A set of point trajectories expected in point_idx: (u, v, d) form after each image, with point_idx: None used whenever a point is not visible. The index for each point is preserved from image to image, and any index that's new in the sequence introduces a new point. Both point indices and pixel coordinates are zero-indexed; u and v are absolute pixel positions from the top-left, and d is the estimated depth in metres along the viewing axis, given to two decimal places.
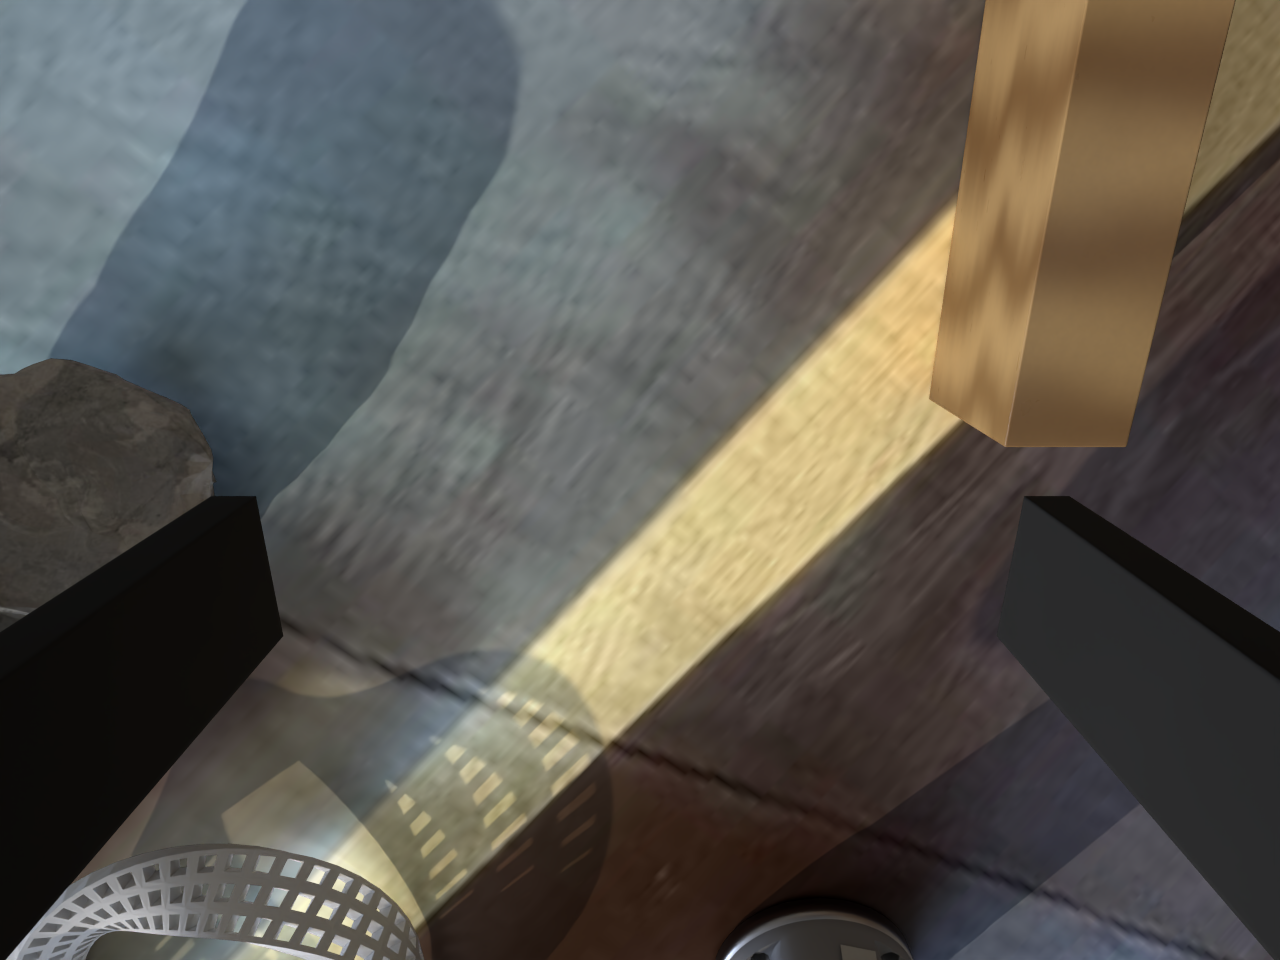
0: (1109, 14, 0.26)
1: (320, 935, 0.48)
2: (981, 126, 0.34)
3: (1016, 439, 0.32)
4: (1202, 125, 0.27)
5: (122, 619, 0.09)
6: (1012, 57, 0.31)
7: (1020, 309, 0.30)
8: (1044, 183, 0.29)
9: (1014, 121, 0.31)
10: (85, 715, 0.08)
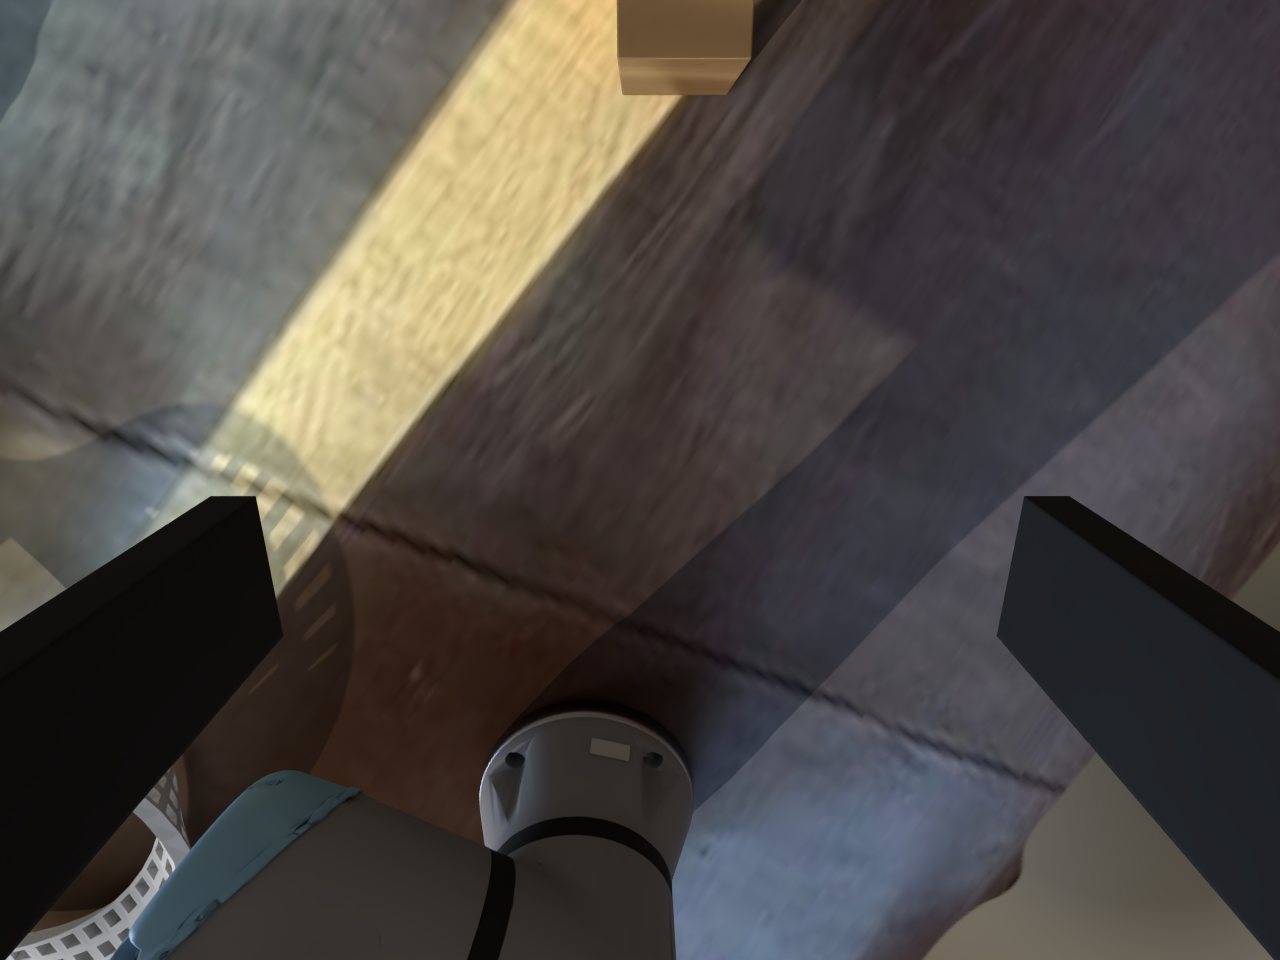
0: None
1: None
2: None
3: (628, 49, 0.29)
4: None
5: (122, 619, 0.09)
6: None
7: None
8: None
9: None
10: (85, 715, 0.08)
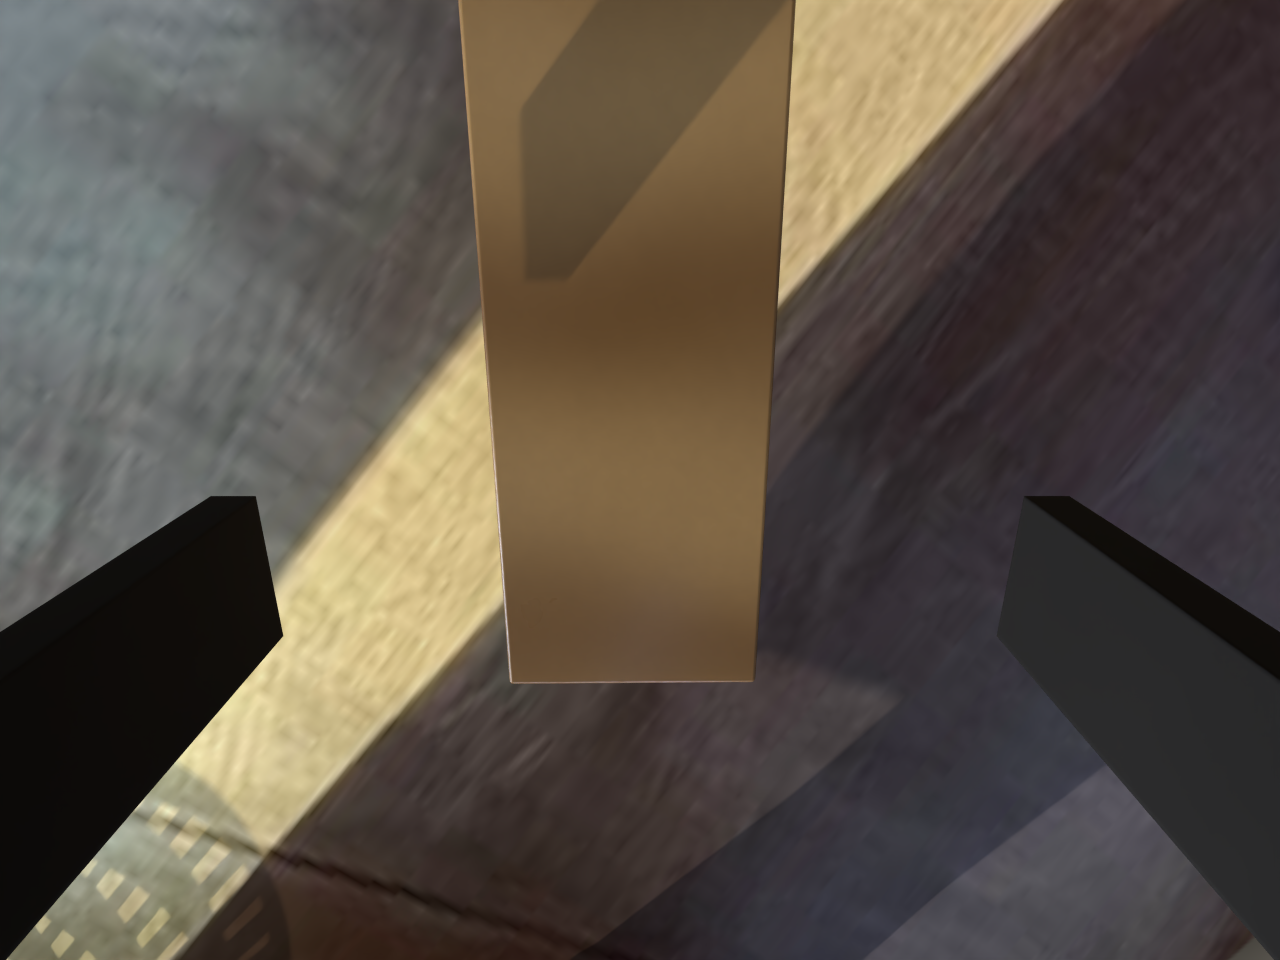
0: None
1: None
2: None
3: (529, 671, 0.16)
4: (788, 3, 0.12)
5: (122, 619, 0.09)
6: None
7: None
8: None
9: None
10: (85, 715, 0.08)
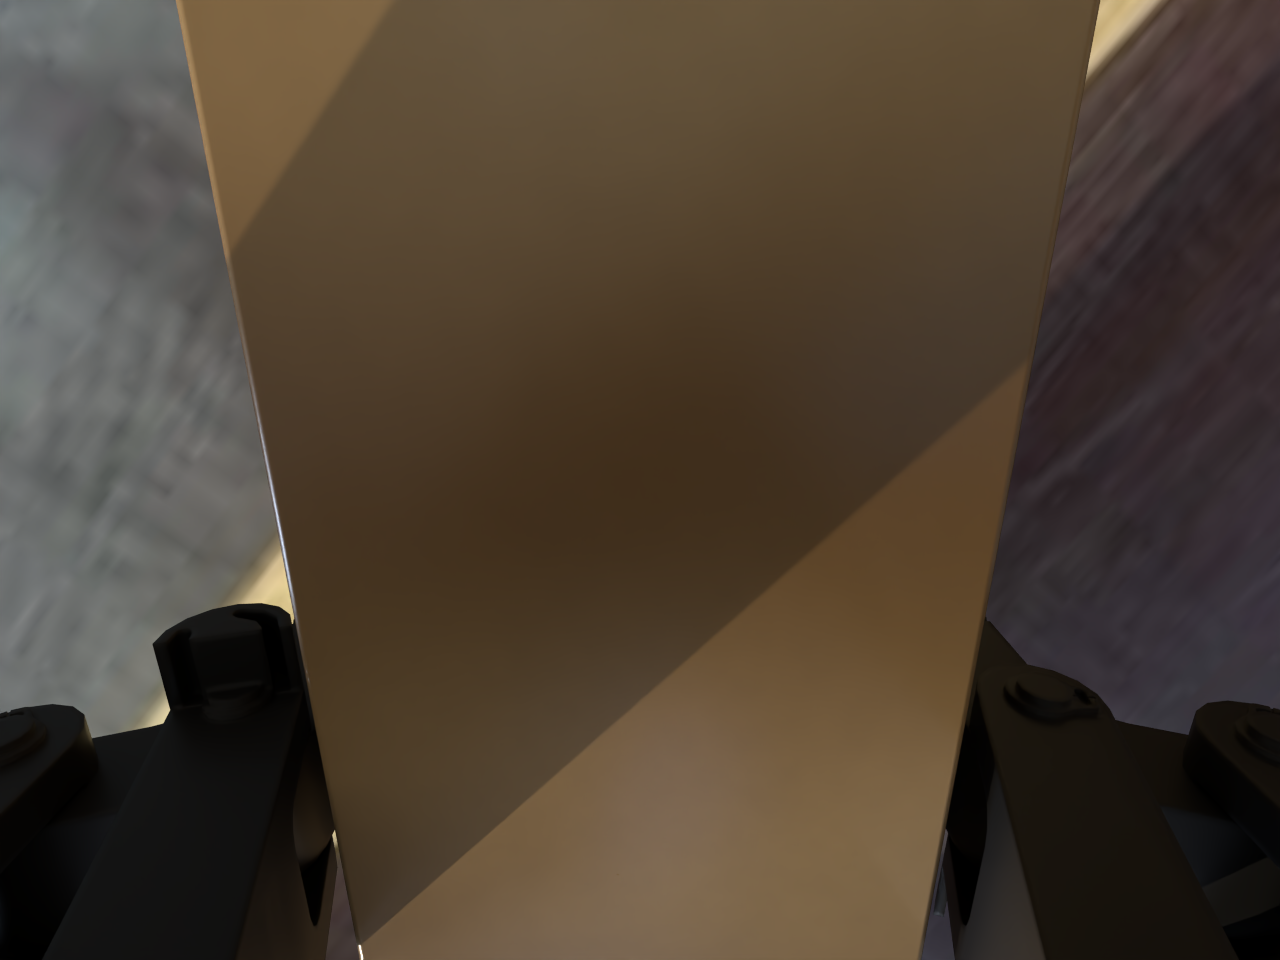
0: None
1: None
2: None
3: None
4: None
5: None
6: None
7: None
8: None
9: None
10: None
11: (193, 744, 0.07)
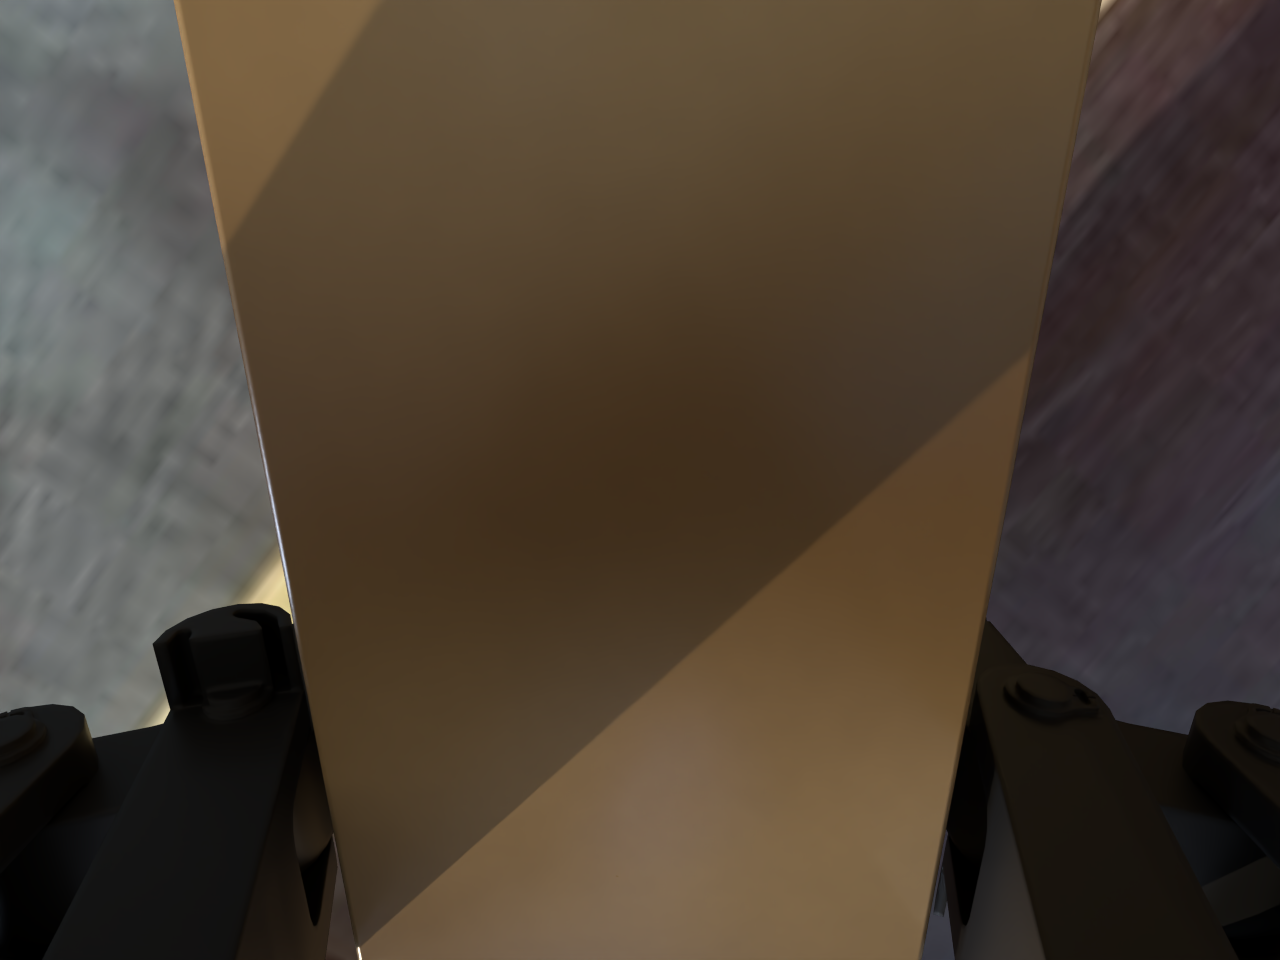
0: None
1: None
2: None
3: None
4: None
5: None
6: None
7: None
8: None
9: None
10: None
11: (193, 744, 0.07)
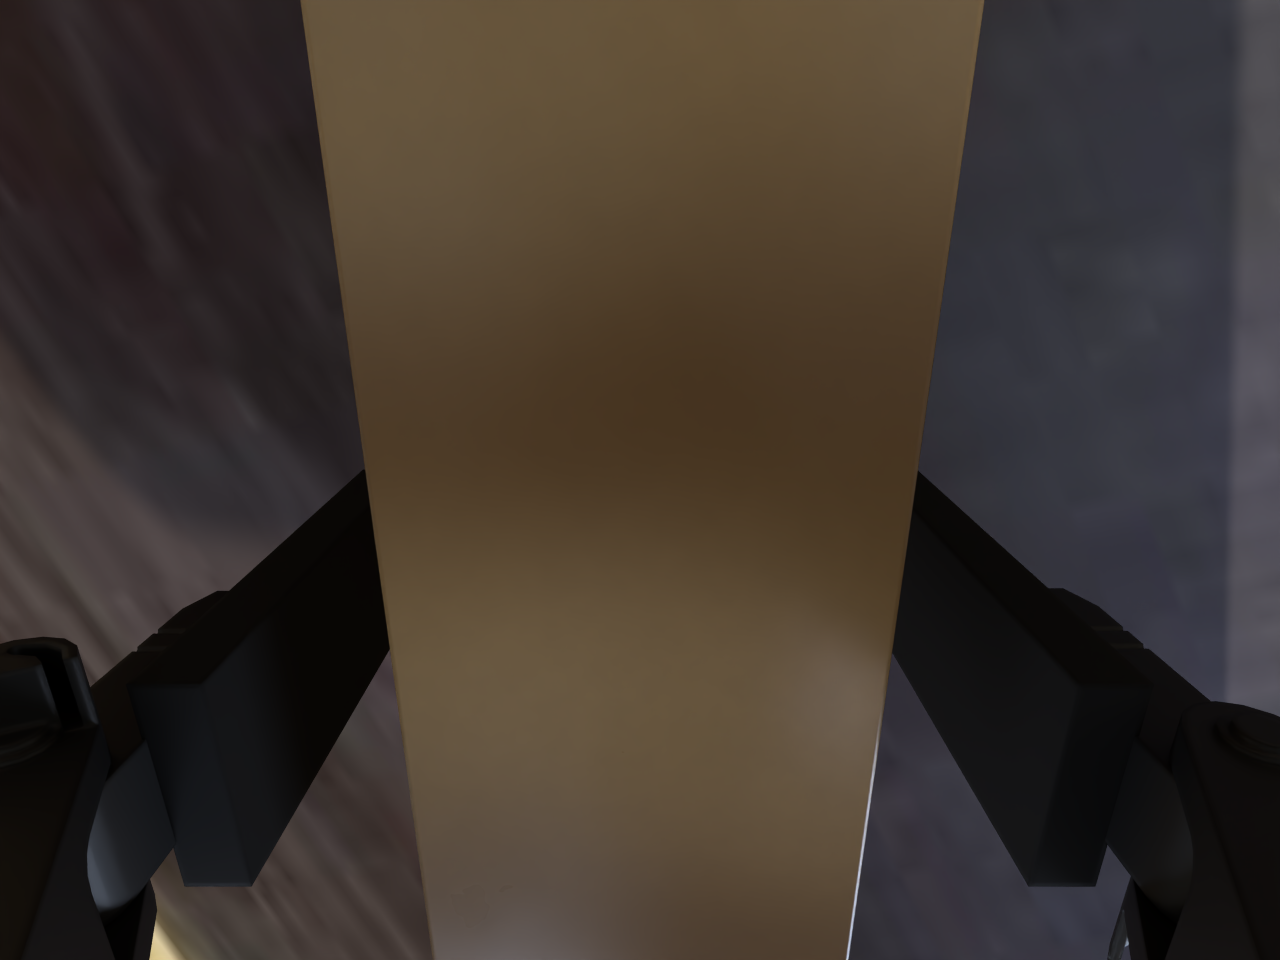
0: None
1: None
2: None
3: None
4: None
5: (331, 569, 0.10)
6: None
7: None
8: None
9: None
10: (312, 649, 0.10)
11: None
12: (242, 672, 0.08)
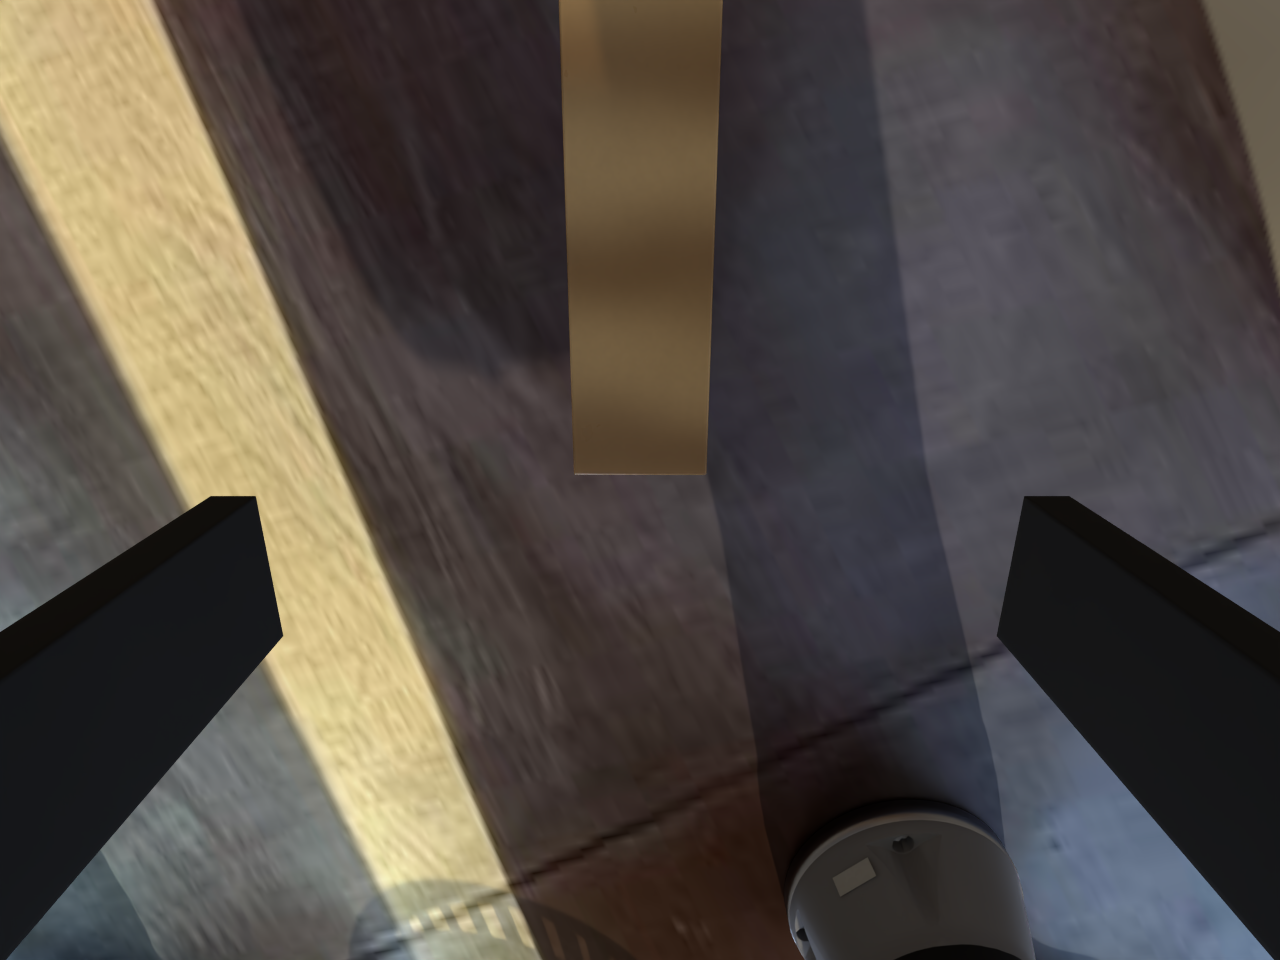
0: (586, 4, 0.24)
1: None
2: None
3: (585, 467, 0.29)
4: (715, 126, 0.25)
5: (122, 619, 0.09)
6: None
7: None
8: None
9: None
10: (85, 715, 0.08)
11: None
12: None
